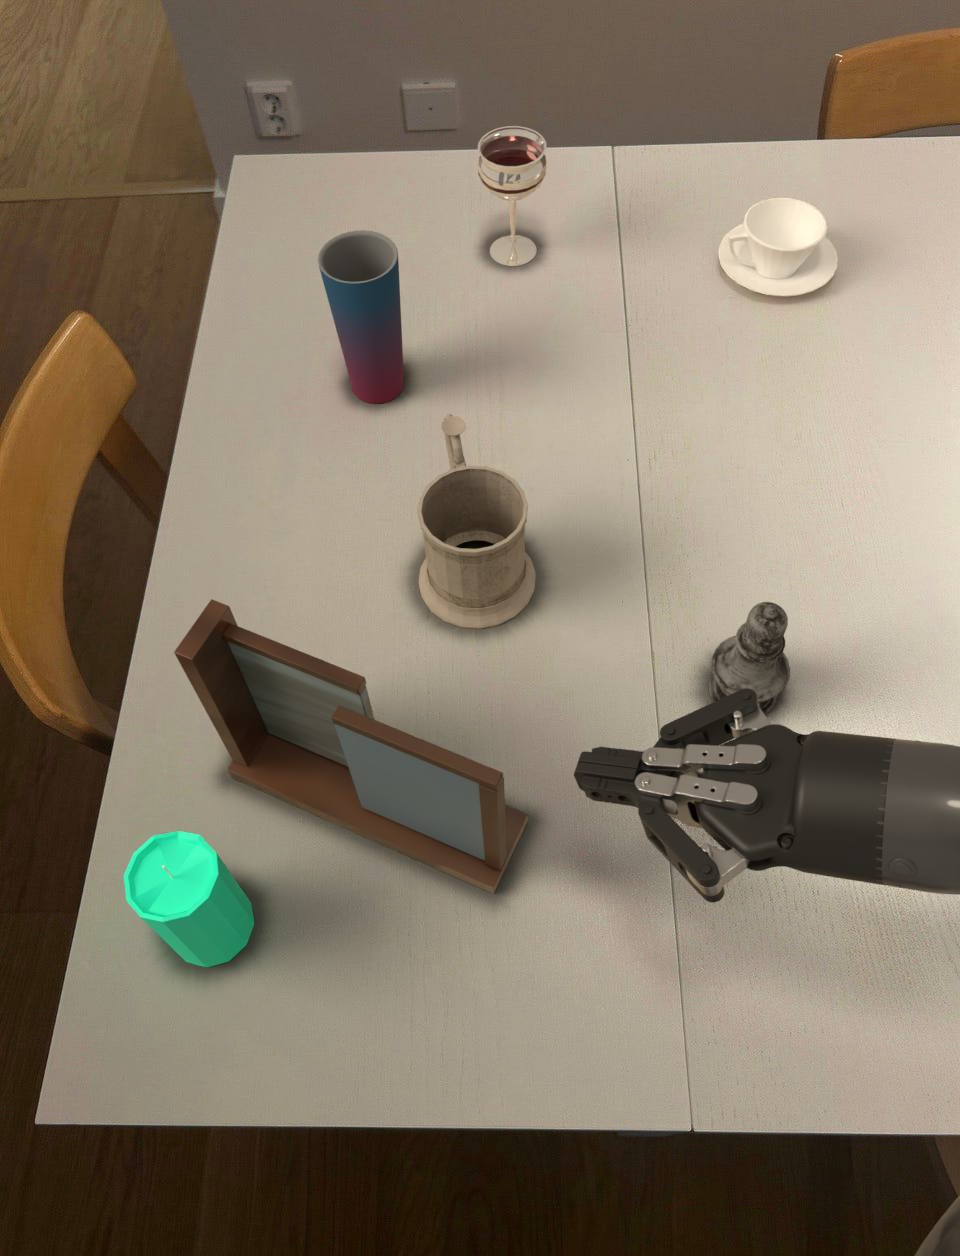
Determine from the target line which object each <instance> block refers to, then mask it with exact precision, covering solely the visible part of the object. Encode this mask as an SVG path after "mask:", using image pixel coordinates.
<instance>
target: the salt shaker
mask: <svg viewBox="0 0 960 1256" xmlns="http://www.w3.org/2000/svg"><path fill="white" fill-rule="evenodd" d="M788 625H789V619H788V614H787V613H786V610H785V609H783V608H782V606H781V605H779V604H777V603H775V602H772V601H762V602H758V603H756V604H755V605H754V606H752V608H751V609H750V610H749V612H748V614H747V617H746V621H745V622H744V623H743V624H741V625H740V627H739V628H738V629H737V631H736V634H735V635H734V636H731V637H730V636H729V637H727V638H726V639H725V640H722V642H720V643H719V645H718V646H717V647H716V648H715V650H714V652H713V654H712V657H711V671H712V673H711V675H710V678H709V681H708V682H709V683H708V692H709V696H710V698H711V700H712V703H713V702H715V701H718V700H720V699H722V698H724V697H726V696H728V695H731V694H733V693H735V692H737V691H739V690H741V689H745V688H748V689H752V690H754V691H755V692H756V694H757V700H758V702H759V707H760V709H761V710H762V712H763V713H764V714H765V715H766V714H768V713H769V712H770V711H771V710H772V708H773V707H774V706H775V704H776V701H777V697H778V695H780V694H781V693H782V692H783V691H784V690H785V688H786V687H787V686H788V683H789V680H790V677H791V665H790V663H789V659H788V657H787V656H786V654H785V652H784V651H785V647H786V639H785V633H786V631H787V629H788Z"/></svg>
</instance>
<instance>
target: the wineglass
mask: <svg viewBox="0 0 960 1256" xmlns="http://www.w3.org/2000/svg"><path fill="white" fill-rule="evenodd" d="M546 151H547V141H546V139H545V138H544V136H543V135H542V134H541V133H539V132H538V131H537V130H534V129H532V128H530V127H525V126H519V125H507V126H502V127H497V128H494V129H492V130H490V131H488V132H487V133H485V134H484V135H482V137H481V138H480V140H479V141H478V143H477V152H478V154H479V157H478V161H477V175H478V177H479V180H480V181H481V183H482V185H483V186H484V188H485V189H486V191H488V192H489V193H491V195H493V196H495V197H497V198H498V199H501V200H504V201H508V209H509V211H508V212H509V225H510V226H509V228H510V234H509V235H504V236H501V237H500V238H497V239H496V240H495V241H493V243H491V245H490V247H489V255H490V256H491V259H493V260H494V261H495V262H496V263H497V264H500V265H502V266H508V267H518V266H524V265H525V264H528V263H530V262H531V261H532V260H533V259H534V258H535V256H536V255H537V249H538V248H537V245H536V244H535V242H534V241H533V240H532V239H530V238H528V237H526V236H523V235H519V234H516V225H517V224H516V223H517V201H520V200H523V199H524V200H525V198H528V197H529V196H531V195H532V194H533V193H535V192H536V191H537V190H538V189H539V188H540V187H541V185H542V183H543V182H544V179H545V177H546V174H547V168H548V167H547V165H548V163H547V156H546V154H545V153H546Z"/></svg>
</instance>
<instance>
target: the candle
mask: <svg viewBox="0 0 960 1256" xmlns="http://www.w3.org/2000/svg"><path fill="white" fill-rule="evenodd" d="M123 883H124V891H125V899H126V900H125V901H126V902H127V903H128V904H129V905H130V907H131V908H132V910H134V911H135V913H136V914H137V915H138V916H139V918H141V919H142V920H143V921H144V922H145V923H146V924H147V925H148V926H149V927H150V928H151V929H152V930H153V931H154V932H155V934H157V935H158V936H159V937H160V938H161V939H162V940H163V941H164V943H166V944H167V945H168V946H169V947H170V948H171V949H172V950H173V951H174V952H176V954H177V955H178V956H179V957H180V958H182V960H183V961H185V963H188V964H192V965H196V966H200V967H203V968H210V967H211V968H212V967H214V966H217V965H221V964H224V963H228V962H230V961H231V960H232V959H234V957H236V956H237V955H238V954H239V953H240V952H241V951H242V950H243V949H244V948H245V947H246V946H247V945H248V943H249V939H250V937H251V934H252V931H253V929H254V927H255V917H254V910H253V906H252V902H251V900H250V899H249V896H247V894H246V893H245V892H244V890H243V889H242V888H241V885H239V883H238V882H237V880H236V878H235V877H234V876H233V875H232V873H231V872H230V870H229V869H228V867H227V865H226V864H225V863H224V861H223V860H222V858H220V855H218V853H217V852H216V851H215V850H214V848H213V847H212V846H211V845H210V844H209V843H208V842H207V840H206V839H205V838H203V835H201V834H198V833H192V832H187V831H182V830H176V831H170V832H166V833H165V832H163V833H159V834H154V835H152V836H151V837H149V838H148V840H146V841H145V842H144V843H143V844H142V845H141V846H140V847H138V848H137V849H136V850H135V851H134V852H133V854H132V855H131V858H130V860H129V863H128V864H127V867H126V869H125V871H124V874H123Z"/></svg>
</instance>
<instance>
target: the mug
mask: <svg viewBox="0 0 960 1256" xmlns="http://www.w3.org/2000/svg"><path fill="white" fill-rule="evenodd" d="M466 429H467V424H466V422H465V420H464V419H463V418H461V417H460V416H456V415H455V416H454V415H453V414H451V413H450V414H449V413H448V414H446V415H445V416H444V418H443V421H442V422H441V430H442V432H443V433H444V439H445V448H446V452H447V459H448V465H449V468H450V469H449V470H448V471H445V472H443V473H441V474H439V475H437V476H436V477H435V478H434V479H432V480H431V481H430V482H429V483H428V484H427V485H426V486H425V487H424V490H423V491H422V493H421V495H420V496H419V498H418V505H417V512H416V513H417V518H418V523H419V527H420V530H421V531H422V535H423V544H424V552H425V558H424V560H423V562H422V564H421V566H420V571H419V576H418V587H419V591H420V597H421V599H422V600H423V602H424V603H425V605H426V606H427V608H428V609H429V611H430V612H431V613H432V614H434V615H435V616H436V617H438V618H439V619H441V621H443V622H444V623H447V624H450V625H454V626H456V627H459V628H462V629H475V630H476V629H479V630H481V629H486V628H491V627H497V626H500V625H502V624H504V623H506V622H508V621H510V620H512V619H514V618H515V617H517V616H518V614H520V613H521V612H522V611H523V610H524V609H525V608H526V607H527V606H528V604H529V602H530V601H531V599H532V596H533V594H534V592H535V588H536V579H537V578H536V577H537V574H536V570H535V568H534V564H533V560H532V558H531V557H530V556H529V555H528V553H527V552H526V523H527V521H528V510H529V504H528V500H527V497H526V493H525V491H524V489H523V488H522V487H521V486H520V484H519V483H518V482H517V481H516V479H514V478H513V477H511V476H510V475H508V474H507V473H506V472H503V471H502V470H498V469H496V468H493V467H490V466H485V465H483V466H482V465H467V462H466V459H465V456H464V451H463V444H462V438H461V434H463V433H464V432H465V431H466ZM474 541H476V542H477V541H478V542H480V541H481V542H487V543H490V544H493V545H489V546H484V547H479V548H464V547H463V548H461V547H458V546H459V545H462V544H463V543H467V542H474Z"/></svg>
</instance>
